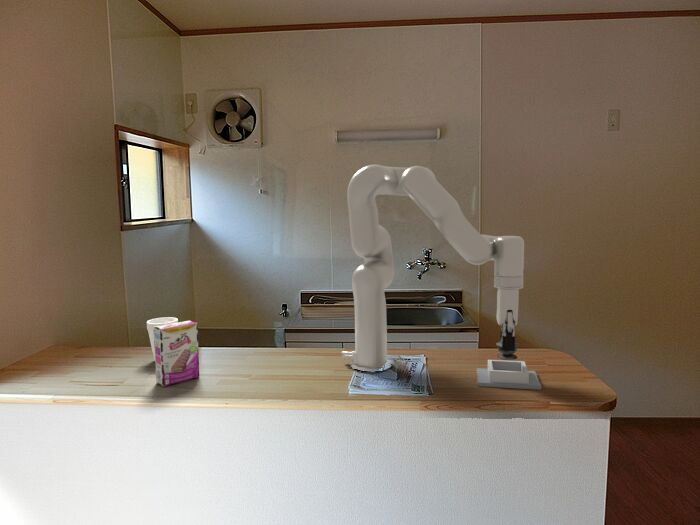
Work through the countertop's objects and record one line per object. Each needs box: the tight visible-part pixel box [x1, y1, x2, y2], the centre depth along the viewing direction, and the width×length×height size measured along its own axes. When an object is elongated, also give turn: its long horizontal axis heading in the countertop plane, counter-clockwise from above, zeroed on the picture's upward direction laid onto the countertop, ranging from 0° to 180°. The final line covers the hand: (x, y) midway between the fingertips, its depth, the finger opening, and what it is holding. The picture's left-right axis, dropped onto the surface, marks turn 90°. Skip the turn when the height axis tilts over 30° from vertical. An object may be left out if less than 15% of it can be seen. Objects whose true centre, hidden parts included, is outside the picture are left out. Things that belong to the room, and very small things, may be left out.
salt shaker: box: [496, 322, 519, 361], centre depth 140 cm, size 6×6×12 cm
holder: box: [476, 359, 542, 390], centre depth 141 cm, size 16×12×4 cm
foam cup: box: [146, 316, 179, 361], centre depth 165 cm, size 10×9×13 cm
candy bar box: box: [154, 320, 200, 388], centre depth 145 cm, size 11×5×16 cm, turn 134°
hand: (507, 346), depth 140 cm, fingers closed on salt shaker, 5 cm apart
